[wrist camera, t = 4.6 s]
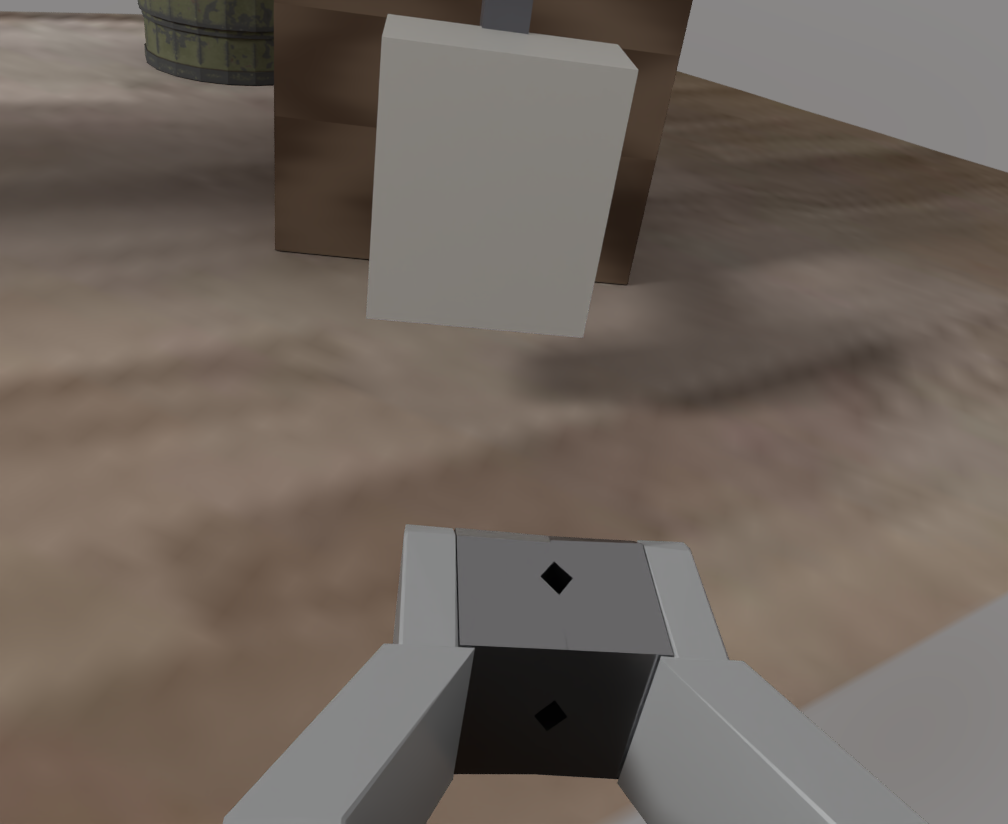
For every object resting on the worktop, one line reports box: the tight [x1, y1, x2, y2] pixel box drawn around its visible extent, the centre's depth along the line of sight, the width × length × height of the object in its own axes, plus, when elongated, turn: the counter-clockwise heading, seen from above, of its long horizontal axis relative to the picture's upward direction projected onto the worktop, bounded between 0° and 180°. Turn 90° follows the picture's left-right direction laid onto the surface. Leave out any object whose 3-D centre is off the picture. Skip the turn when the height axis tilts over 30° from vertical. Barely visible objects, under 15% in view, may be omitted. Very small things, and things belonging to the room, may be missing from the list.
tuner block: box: [274, 0, 693, 285], centre depth 32 cm, size 12×12×12 cm
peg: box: [366, 0, 638, 338], centre depth 24 cm, size 5×16×10 cm, turn 3°
